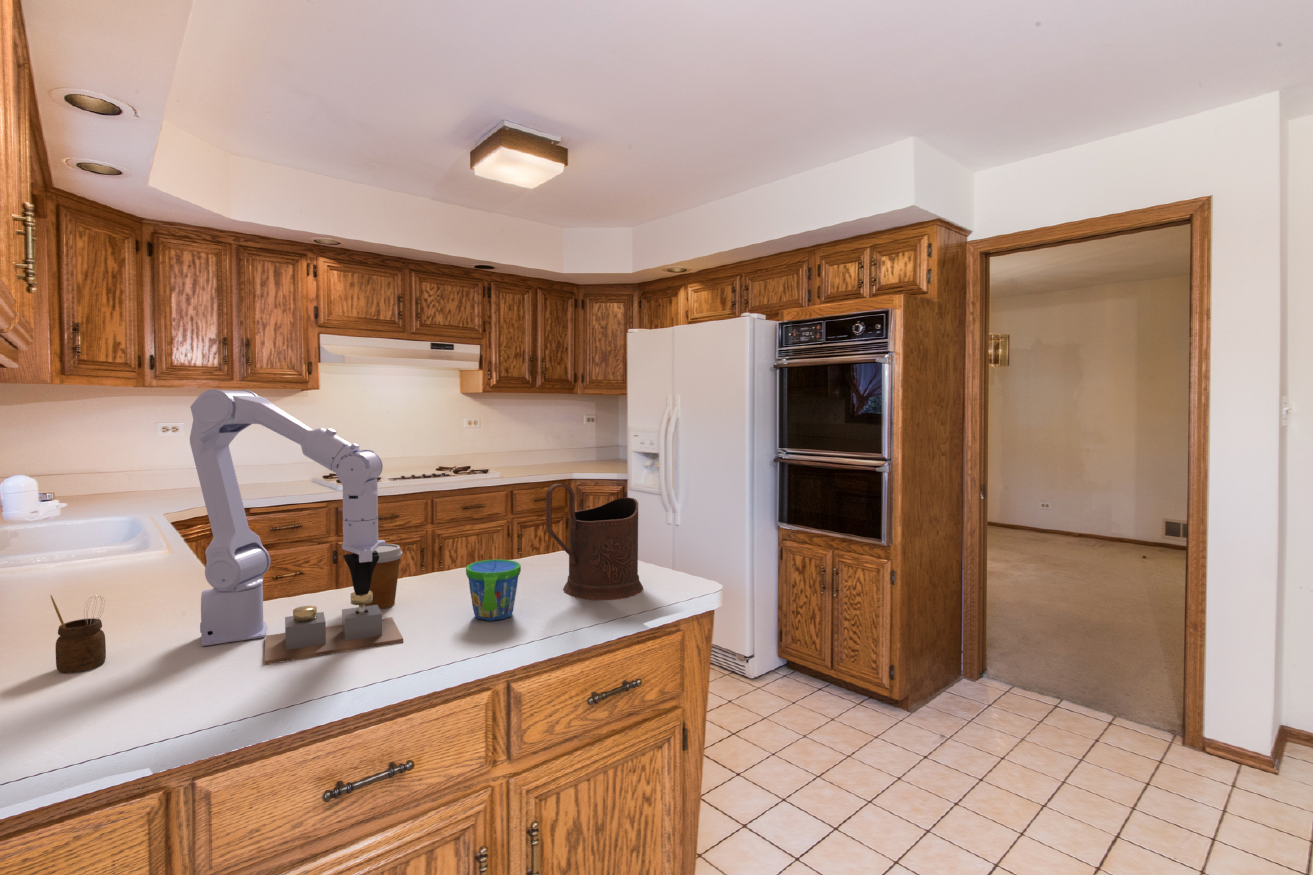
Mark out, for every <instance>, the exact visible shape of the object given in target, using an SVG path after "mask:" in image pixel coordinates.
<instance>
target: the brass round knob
mask: <svg viewBox="0 0 1313 875" xmlns="http://www.w3.org/2000/svg"><path fill="white" fill-rule="evenodd" d="M372 601H373V596H372V591H369V593H368V594H360V595H356V594H355V591H353V592H351V593H350V605H353V606H358V607H359V614H360V613H365V604H369V603H371V602H372Z"/></svg>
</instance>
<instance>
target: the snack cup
mask: <svg viewBox="0 0 1313 875" xmlns="http://www.w3.org/2000/svg"><path fill="white" fill-rule="evenodd" d="M521 570H522V567H521V564H520V562H518V561H515V560H510V559H484V560H478V561H475V562H471V563H469V564H467V566H465V575H466V576H467V579H468V584H469V592H470V598H471V604H472V610H473V614H474V617H475V618H476V619H477V620H479V619H480V620H482V621H488V622H489V621H491V622H492V621H499V620H504V619H507V618H510V617H511V616H512V615H513V612H514V606H515V602H516V596H517V589H518V581H519V580H518V579H519V577H520V574H521Z"/></svg>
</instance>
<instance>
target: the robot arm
mask: <svg viewBox="0 0 1313 875" xmlns="http://www.w3.org/2000/svg"><path fill="white" fill-rule="evenodd" d="M190 410H191V415H192V419H193V420H192V423H191V430H190V434H189V444H190V448H191V452H192V457H193V460H194V461H193V462H194V466H195V469H196V472H197V476H198V481H199V484H200V489H201V492H202V496H203V501H204V504H205V508H206V512H207V517H208V521H209V525H210V528H211V532H212V540H210V543H209V545H208V546H207V548H206V549H205V552H204V553H205V556H206V564H205V568H204V576H205V579H206V581H207V583H208V585H210V586H211V587H212V588H209V589H204V590H202V591H201V596H200V597H201V598H200V625H199V632H200V635H201V636H200V637H201V643H200V645H201V646H202V647H205V646H212V645H219V644H227V643H231V642H232V643H233V642H240V641H247V640H253V639H261V638H266V636H267V622H266V621H264V589H263V588H264V587H263V581H264V575H265V574H266V573H267V572H268V570H269V568H270V566H271V555H270V553H269V551H268V550H267V549H266V548H265V547H264V546H263V543H262V541H261V540H262V539H261V537H260V535H258V534H257V533H256V532H254V531H252V530H251V528H250V527H249V523H248V518H247V515H246V511H245V507H244V503H243V498H242V495H241V490H240V487H239V482H238V479H237V474H236V470H235V466H234V462H233V457H232V454H231V451H230V444H231V443H232V442H233V440H234V439H235V438H236V437H237V435H239V433H241V432H242V431H243V430H245V429H247V428H249V427H250V426H251V425H253V424H254V425H260V426H262V427H265V428H267V429H269V430H271V431H273V432H274V433H276V434H279V435H280V436H282V437H285V438H286V439H288V440H290V441H292V442H294V443H296V444H298V445H299V446H300V447H301V451H302V454H303V456H305V457H307V458H308V459H310V460H311V461H313V462H315V463H318V464H319V465H321V466H323V467H324V468H326V469H328V470H329V471H332V472H333V473H335V476H336V478H337V479H338V481H339V482H340V483H341V486H342V529H343V530H342V533H343V540H342V541H343V543H342V544H341V549H342V550H343V551H347V552H350V553H346V554H343V556H342V557H343V560H344V561H345V563H346V564H347V566H348V567H347V568H348V569H349V572H350V576H351V582H352V587H353V592H355V594H356V595H360V594H368V593H369V589H370V584H371V579H372V574H373V571H374V568H375V566H376V564H377V562H378V560H379V555H378V552H377V551H375V550H376V549H377V548H378V547H379V546H384V545H385V544H386V541H385V540H384V539H380V540H379V500H378V499H379V495H378V494H379V490H378V478H379V477H380V476H381V475H382V472H383V469H384V468H383V467H384V466H383V461H382V459H381V458H380V456H379V455H378V454H377V453H375V452H374V451H373V450H371V449H360V445H359V444H357V443H355V442H354V443H350V442H349V441H348V440H345V439H343V438H342V437H340V436H339V435H337V431H336V430H335V429H333V428H331V427H330V428H323V427H318V428H315V429H312V428H311V427H309V426H308V425H306V424H304V423H303V422H302V421H300V420H299V419H297V418H295V417H294V416H292V415H291V414H289V413H288V412H286V411H285V410H283V409H281V408H280V407H278V406H277V405H275V404H273V403H272V402H271V401H270V400H269V399H268V398H267V397H263V396H260V395H257V393H255V392H253V391H251V390H247V389H242V390H226V389H225V390H223V389H222V390H221V389H217V388H216V389H215V388H211V389H207V390H205V391H203V392H201V394H199V395H198V397H196V399H195V400H194V402H193V403H191V405H190Z"/></svg>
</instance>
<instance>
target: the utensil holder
mask: <svg viewBox="0 0 1313 875" xmlns="http://www.w3.org/2000/svg"><path fill="white" fill-rule="evenodd" d="M98 597H99V598H100V600H101V602H100V603H101V605H100V606H99V608H100V609H99V611H98V614H97V615H98V616H97V617H96V618H95V615H92V616H91V617H90V618H88V610H89V608H90V605H91V602H92V600H93V599H94V600H97V598H98ZM50 599H51V602H52V605H53V607H54V610H55V613H56V615H57V617H58V619H59V623H60V625H59V626H58V629H57V634H58V636H59V637H58V638H57V639H56V640H55V666H56V670H57V672H58V673H61V674H77V673H82V672H87V671H91V670H94V669H96V668H99V667H101V666H102V665H103V664H105V662H106V658H107V649H106V648H107V646H106V644H107V642H106V635H105V632H104V631H103V630H102V628H103V623H102V620H101V619H100V618H101V616H102V615H103V612H104V608H105V607H102V606H104V605H105V603H106V600H105V598H104V597H103V596H101V595H93V596H91V597H89V598H88V599H87V601H86V602H85V606H84V607H86V608H87V609H86V608H84V610H83V612H85V611H86V612H85V614H83V616H84V617H83V618H81V619H77V620H71V621H67V622H64V620H63V617H62V615H61V612H60V610H59V607H58V606H57V604H56V602H55V599H54V597H53V595H50ZM103 601H104V603H103ZM97 603H98V601H94V603H93V604H95V605H97ZM86 605H87V606H86ZM95 605H93V607H92V609H94V610H97V609H96V607H97V606H95ZM94 607H95V608H94ZM94 610H92V613H91V614H95V613H96V611H94Z"/></svg>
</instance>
